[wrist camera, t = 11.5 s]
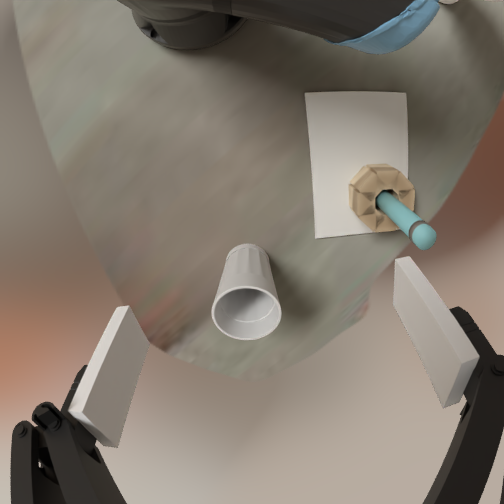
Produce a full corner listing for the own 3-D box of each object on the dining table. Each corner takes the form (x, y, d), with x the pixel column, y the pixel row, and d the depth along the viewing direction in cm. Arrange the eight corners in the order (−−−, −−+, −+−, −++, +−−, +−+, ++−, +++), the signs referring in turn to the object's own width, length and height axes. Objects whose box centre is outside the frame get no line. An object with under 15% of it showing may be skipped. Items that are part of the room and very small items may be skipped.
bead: (347, 165, 39) (357, 172, 36) (402, 163, 39) (415, 169, 35) (348, 222, 43) (357, 234, 39) (400, 217, 42) (412, 228, 39)
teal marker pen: (367, 184, 40) (417, 228, 27) (384, 183, 40) (438, 226, 27) (367, 202, 42) (414, 251, 28) (383, 200, 41) (435, 249, 28)
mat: (304, 92, 35) (304, 92, 35) (404, 92, 35) (406, 92, 34) (315, 237, 44) (315, 238, 44) (403, 228, 44) (405, 229, 43)
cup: (273, 236, 44) (280, 283, 34) (276, 284, 48) (282, 338, 37) (217, 240, 45) (206, 288, 34) (223, 287, 48) (217, 341, 38)
